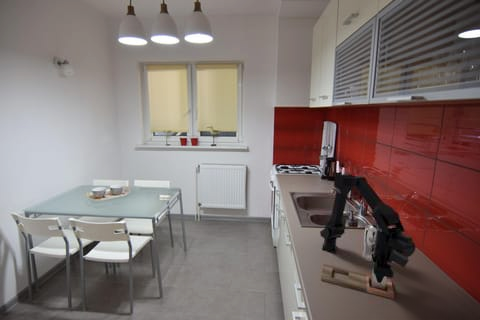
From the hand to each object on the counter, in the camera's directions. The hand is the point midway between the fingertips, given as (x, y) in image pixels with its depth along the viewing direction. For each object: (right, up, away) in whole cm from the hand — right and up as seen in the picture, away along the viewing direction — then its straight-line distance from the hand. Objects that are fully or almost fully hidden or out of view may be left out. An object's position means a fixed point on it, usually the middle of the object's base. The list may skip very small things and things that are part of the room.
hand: (378, 278), depth 104 cm
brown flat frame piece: (-7, -3, +4) cm, 9 cm away
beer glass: (+6, 0, +20) cm, 21 cm away
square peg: (0, -2, +1) cm, 2 cm away
